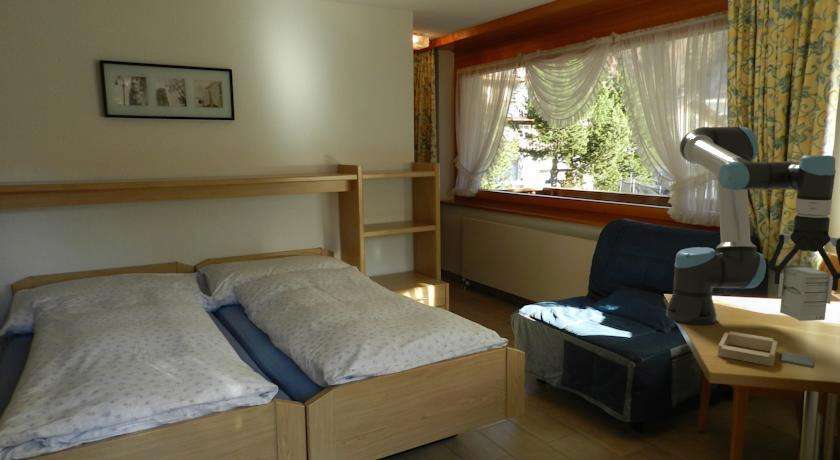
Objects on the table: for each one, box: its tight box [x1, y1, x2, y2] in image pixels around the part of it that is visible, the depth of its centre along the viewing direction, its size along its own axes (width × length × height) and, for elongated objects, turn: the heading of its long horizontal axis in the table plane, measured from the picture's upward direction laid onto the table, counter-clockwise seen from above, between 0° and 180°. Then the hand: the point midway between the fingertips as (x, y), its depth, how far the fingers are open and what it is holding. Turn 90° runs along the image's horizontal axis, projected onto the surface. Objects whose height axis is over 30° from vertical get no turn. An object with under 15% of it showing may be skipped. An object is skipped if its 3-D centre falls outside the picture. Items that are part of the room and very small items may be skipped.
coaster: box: [780, 351, 814, 368], centre depth 152 cm, size 7×7×1 cm
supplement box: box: [779, 266, 831, 322], centre depth 149 cm, size 7×7×13 cm
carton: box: [717, 331, 778, 367], centre depth 157 cm, size 13×17×3 cm
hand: (803, 299), depth 149 cm, fingers closed on supplement box, 10 cm apart
